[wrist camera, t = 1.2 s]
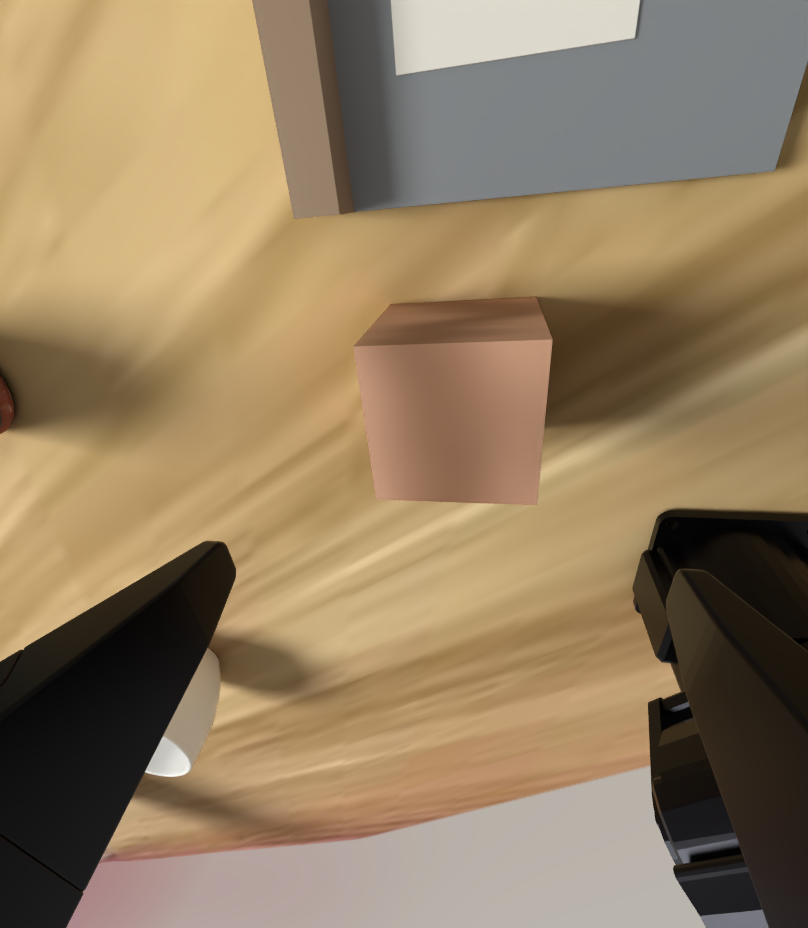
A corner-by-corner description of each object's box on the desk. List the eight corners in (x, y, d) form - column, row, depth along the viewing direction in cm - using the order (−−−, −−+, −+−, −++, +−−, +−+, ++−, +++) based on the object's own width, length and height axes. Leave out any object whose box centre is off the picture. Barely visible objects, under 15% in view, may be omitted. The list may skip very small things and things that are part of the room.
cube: (535, 296, 16) (552, 339, 11) (526, 428, 19) (536, 505, 14) (391, 303, 17) (353, 346, 13) (403, 427, 20) (376, 499, 15)
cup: (214, 694, 37) (164, 786, 31) (108, 632, 34) (33, 719, 29) (258, 664, 33) (210, 761, 27) (142, 591, 30) (63, 682, 25)
